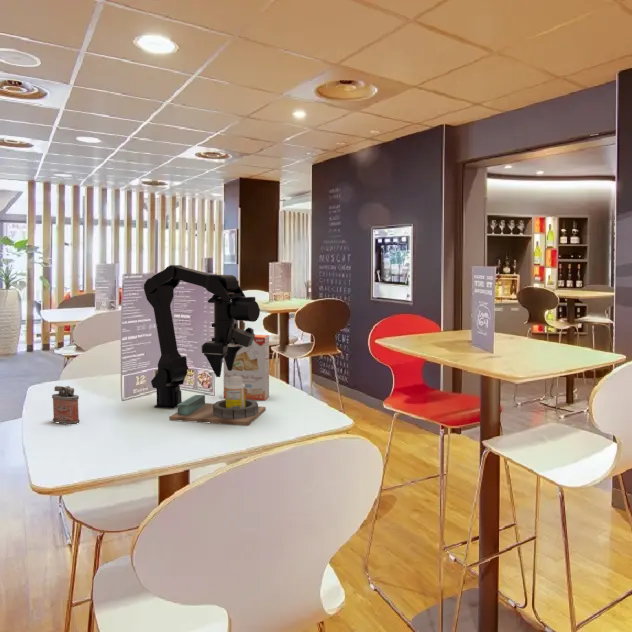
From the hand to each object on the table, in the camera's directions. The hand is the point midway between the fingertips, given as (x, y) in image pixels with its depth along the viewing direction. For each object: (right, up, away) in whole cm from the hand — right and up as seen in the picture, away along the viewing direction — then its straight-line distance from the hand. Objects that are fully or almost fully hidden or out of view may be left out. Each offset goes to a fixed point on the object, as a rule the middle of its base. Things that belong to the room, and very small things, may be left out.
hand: (224, 373), depth 149 cm
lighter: (-42, -13, -6) cm, 45 cm away
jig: (-2, -12, +2) cm, 12 cm away
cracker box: (+3, -11, +22) cm, 25 cm away
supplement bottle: (+3, -11, +1) cm, 12 cm away
